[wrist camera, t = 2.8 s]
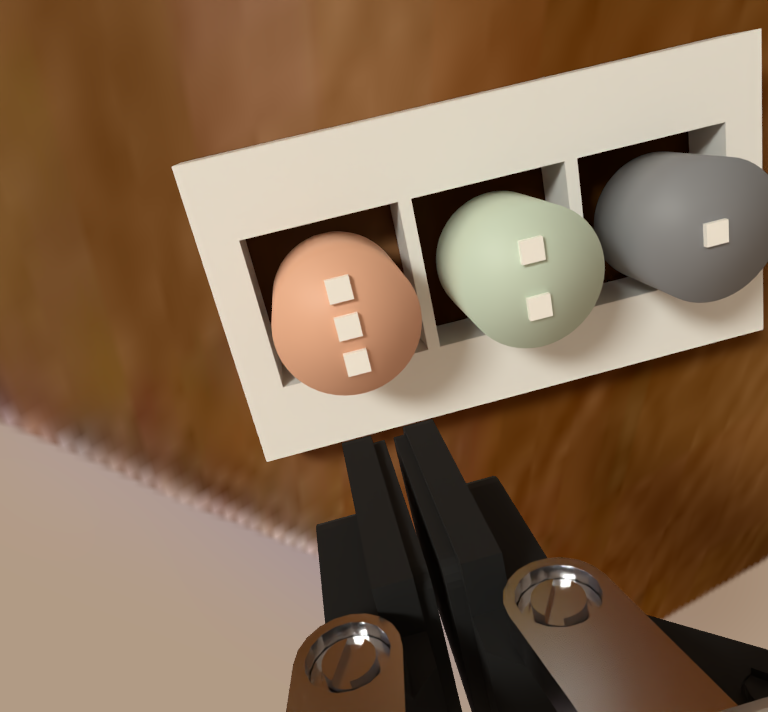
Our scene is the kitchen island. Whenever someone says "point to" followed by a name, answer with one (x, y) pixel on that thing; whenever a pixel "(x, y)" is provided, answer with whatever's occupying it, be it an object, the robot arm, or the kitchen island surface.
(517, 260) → the button
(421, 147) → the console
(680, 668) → the robot arm
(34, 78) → the kitchen island surface
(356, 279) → the button
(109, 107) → the kitchen island surface
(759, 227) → the button
